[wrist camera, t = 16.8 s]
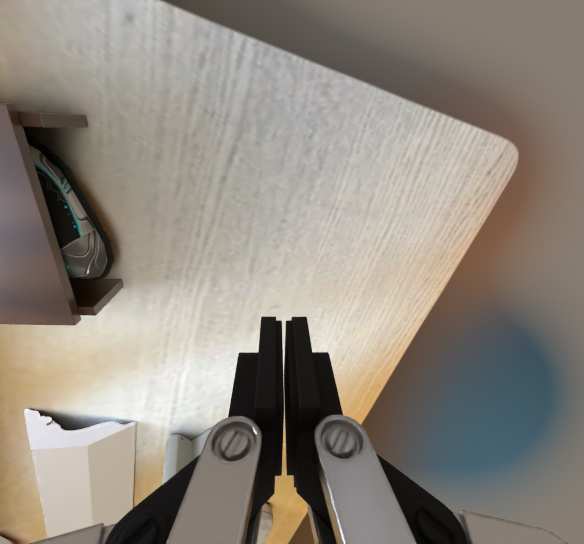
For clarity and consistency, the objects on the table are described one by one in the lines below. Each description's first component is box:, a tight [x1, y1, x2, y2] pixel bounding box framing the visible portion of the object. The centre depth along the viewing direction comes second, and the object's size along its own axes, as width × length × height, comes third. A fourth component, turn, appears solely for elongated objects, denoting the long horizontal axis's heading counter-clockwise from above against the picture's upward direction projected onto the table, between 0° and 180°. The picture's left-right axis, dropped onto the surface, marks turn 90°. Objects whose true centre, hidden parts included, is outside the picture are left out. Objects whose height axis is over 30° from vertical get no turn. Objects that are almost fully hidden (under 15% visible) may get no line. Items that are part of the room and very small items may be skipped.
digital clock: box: [162, 428, 212, 485], centre depth 44 cm, size 16×9×11 cm, turn 27°
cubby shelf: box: [0, 102, 123, 325], centre depth 28 cm, size 19×12×7 cm, turn 177°
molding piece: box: [24, 408, 136, 538], centre depth 51 cm, size 32×12×10 cm
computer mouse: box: [26, 138, 114, 279], centre depth 28 cm, size 9×17×6 cm, turn 30°
